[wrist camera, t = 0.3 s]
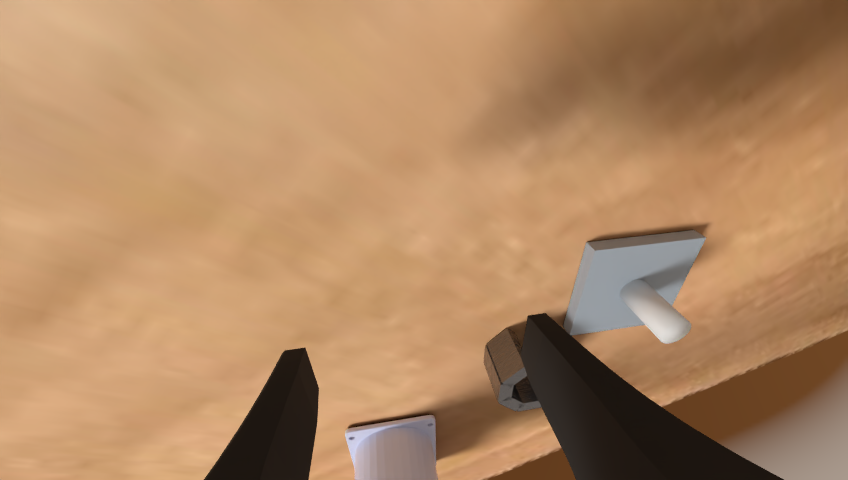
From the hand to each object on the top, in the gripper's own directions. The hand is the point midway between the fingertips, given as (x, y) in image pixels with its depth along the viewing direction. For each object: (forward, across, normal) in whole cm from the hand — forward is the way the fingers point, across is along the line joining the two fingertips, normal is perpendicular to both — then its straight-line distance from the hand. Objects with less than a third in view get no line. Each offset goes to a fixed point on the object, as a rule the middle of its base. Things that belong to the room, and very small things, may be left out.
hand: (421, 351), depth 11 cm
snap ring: (+10, -9, +14) cm, 19 cm away
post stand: (+10, -16, +8) cm, 21 cm away
